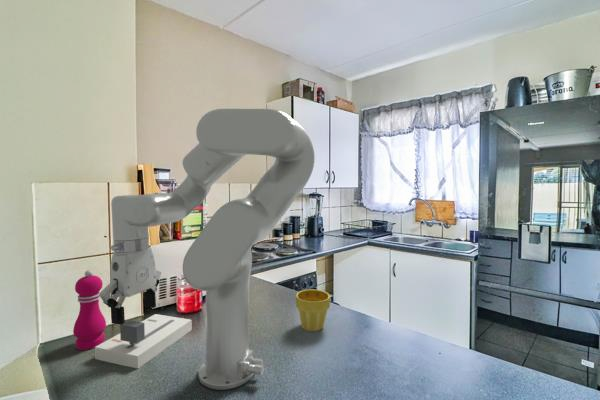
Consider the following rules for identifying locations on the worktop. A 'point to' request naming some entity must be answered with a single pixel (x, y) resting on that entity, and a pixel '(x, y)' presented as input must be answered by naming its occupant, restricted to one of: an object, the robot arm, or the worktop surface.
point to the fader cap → (132, 332)
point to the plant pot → (312, 308)
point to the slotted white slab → (144, 341)
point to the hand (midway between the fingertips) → (135, 314)
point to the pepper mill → (89, 313)
